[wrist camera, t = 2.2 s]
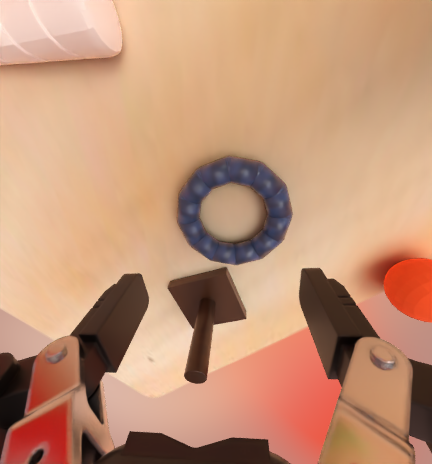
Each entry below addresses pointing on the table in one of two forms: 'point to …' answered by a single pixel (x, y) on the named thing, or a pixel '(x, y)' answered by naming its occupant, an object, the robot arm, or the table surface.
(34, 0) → the unicorn horn
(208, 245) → the ring
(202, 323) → the peg stand
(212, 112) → the table surface
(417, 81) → the table surface
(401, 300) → the clementine
